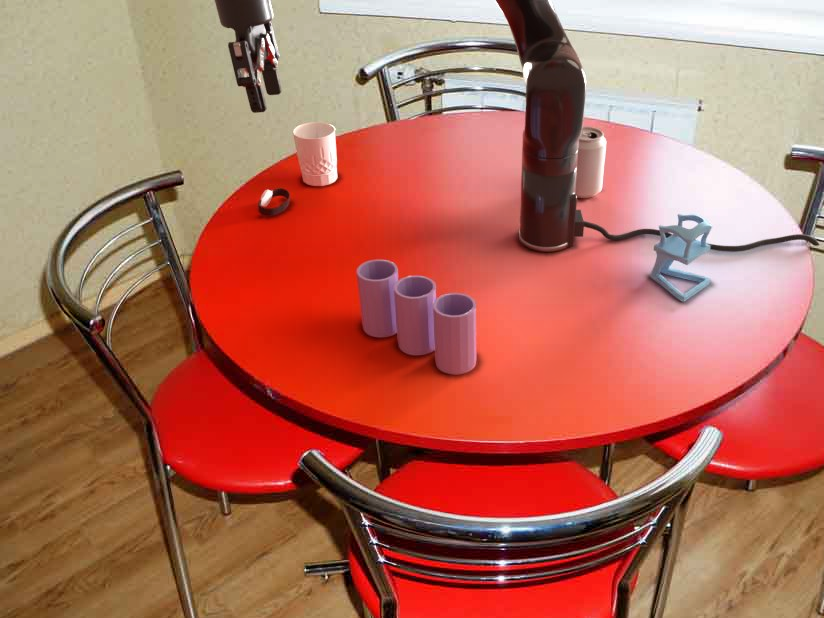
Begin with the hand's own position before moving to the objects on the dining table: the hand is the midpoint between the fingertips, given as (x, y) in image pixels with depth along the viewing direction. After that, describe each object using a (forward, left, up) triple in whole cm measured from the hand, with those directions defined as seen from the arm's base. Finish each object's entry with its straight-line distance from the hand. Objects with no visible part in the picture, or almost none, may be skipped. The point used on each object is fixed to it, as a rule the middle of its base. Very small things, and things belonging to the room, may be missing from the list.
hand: (267, 102), depth 129 cm
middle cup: (-22, +27, -26) cm, 43 cm away
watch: (+5, -16, -27) cm, 31 cm away
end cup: (-16, +22, -26) cm, 38 cm away
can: (-53, -21, -27) cm, 63 cm away
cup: (-27, +31, -26) cm, 49 cm away
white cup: (-2, -28, -27) cm, 39 cm away
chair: (-64, +12, -27) cm, 70 cm away
